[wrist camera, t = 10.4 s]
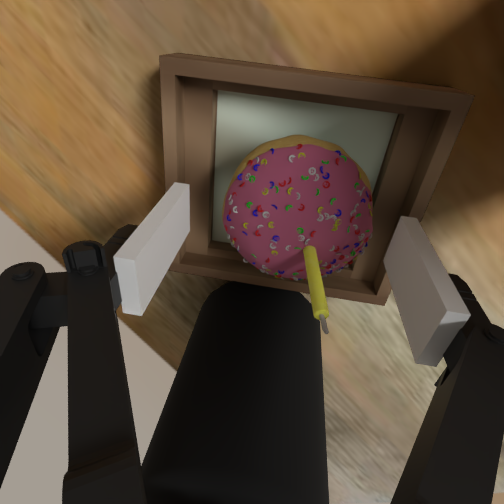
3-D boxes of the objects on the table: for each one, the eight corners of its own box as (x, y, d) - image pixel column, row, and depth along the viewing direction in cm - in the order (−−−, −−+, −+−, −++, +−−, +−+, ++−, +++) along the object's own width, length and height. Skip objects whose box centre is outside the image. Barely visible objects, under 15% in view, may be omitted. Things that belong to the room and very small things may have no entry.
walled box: (177, 53, 20) (159, 55, 17) (452, 87, 19) (475, 95, 16) (181, 249, 28) (169, 270, 25) (377, 280, 27) (384, 305, 24)
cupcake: (389, 187, 22) (458, 313, 12) (294, 259, 26) (288, 397, 16) (301, 88, 20) (296, 143, 10) (211, 184, 24) (142, 293, 14)
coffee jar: (190, 333, 33) (96, 580, 18) (224, 251, 27) (124, 517, 12) (289, 369, 34) (277, 633, 19) (342, 298, 28) (384, 596, 13)
